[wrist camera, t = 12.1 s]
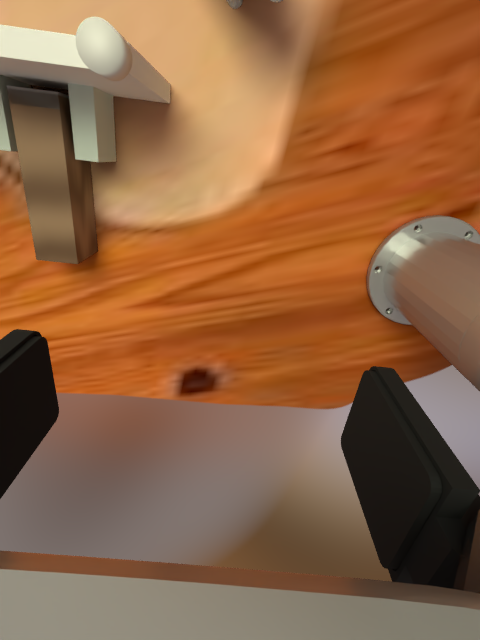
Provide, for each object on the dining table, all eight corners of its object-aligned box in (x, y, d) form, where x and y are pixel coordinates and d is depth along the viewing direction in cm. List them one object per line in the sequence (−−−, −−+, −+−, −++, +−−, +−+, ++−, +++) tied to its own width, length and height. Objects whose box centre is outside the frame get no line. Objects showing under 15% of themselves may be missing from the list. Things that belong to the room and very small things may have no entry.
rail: (41, 96, 30) (6, 85, 26) (85, 101, 30) (57, 91, 26) (61, 247, 37) (36, 259, 32) (98, 251, 37) (77, 264, 32)
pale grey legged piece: (172, 78, 30) (120, 20, 17) (171, 168, 33) (125, 175, 20) (-60, 46, 29) (-295, -40, 16) (-38, 142, 32) (-218, 132, 19)
